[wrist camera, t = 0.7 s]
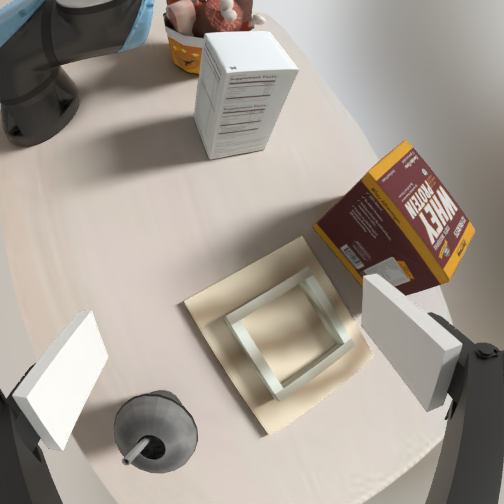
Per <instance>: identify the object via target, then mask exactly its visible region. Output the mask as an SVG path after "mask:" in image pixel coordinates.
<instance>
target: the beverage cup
mask: <svg viewBox="0 0 504 504" xmlns="http://www.w3.org/2000/svg"><path fill="white" fill-rule="evenodd" d="M114 435H115V442H116V444H117V446H118V448H119V451H120V453H121V454H122V455H123V456H124V458H123V459H122V463H123V464H124V465H129V464H130V463H131V464H132V465H134V466H135V467H137V468H138V469H141V470H144V471H147V472H150V473H167V472H171V471H174V470H176V469H178V468H180V467H181V466H183V465H184V464H186V462H187V461H188V460H189V458H190V457H191V456H192V454H193V453H194V451H195V448H196V445H197V442H198V432H197V426H196V424H195V422H194V419H193V417H192V416H191V414H190V413H189V412H188V411H187V410H186V408H185V407H184V406H182V403H181V402H180V400H179V399H178V398H177V397H176V396H175V395H174V394H172V393H171V392H168V391H165V390H159V391H155V392H151V393H150V394H144V395H140V396H136V397H133V398H132V399H130V400H129V401H127V402H126V403H124V404H123V405H122V407H121V408H120V410H119V411H118V412H117V415H116V419H115V423H114Z"/></svg>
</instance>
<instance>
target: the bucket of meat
mask: <svg viewBox="0 0 504 504" xmlns="http://www.w3.org/2000/svg"><path fill="white" fill-rule="evenodd" d="M167 5H168V6H167V8H166V13H164V14H163V17H164V23H165V29H166V32H167V36H168V40H169V45H170V49H171V54H172V58H173V62H174V64H176V65H177V66H179V67H181V68H182V69H184V70H185V71H187V72H189V73H195V74H199V72H200V63H201V55H202V48H203V41H204V34H205V33H216V32H242V31H253V30H254V28H255V27H254V25H255V24H258V25H262V24H264V23H265V19H264V18H263V17H262V16H260V15H258V14H256V15H254V16H253V18H252V16H251V14H252V5H253V0H207V1H206V0H167Z"/></svg>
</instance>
